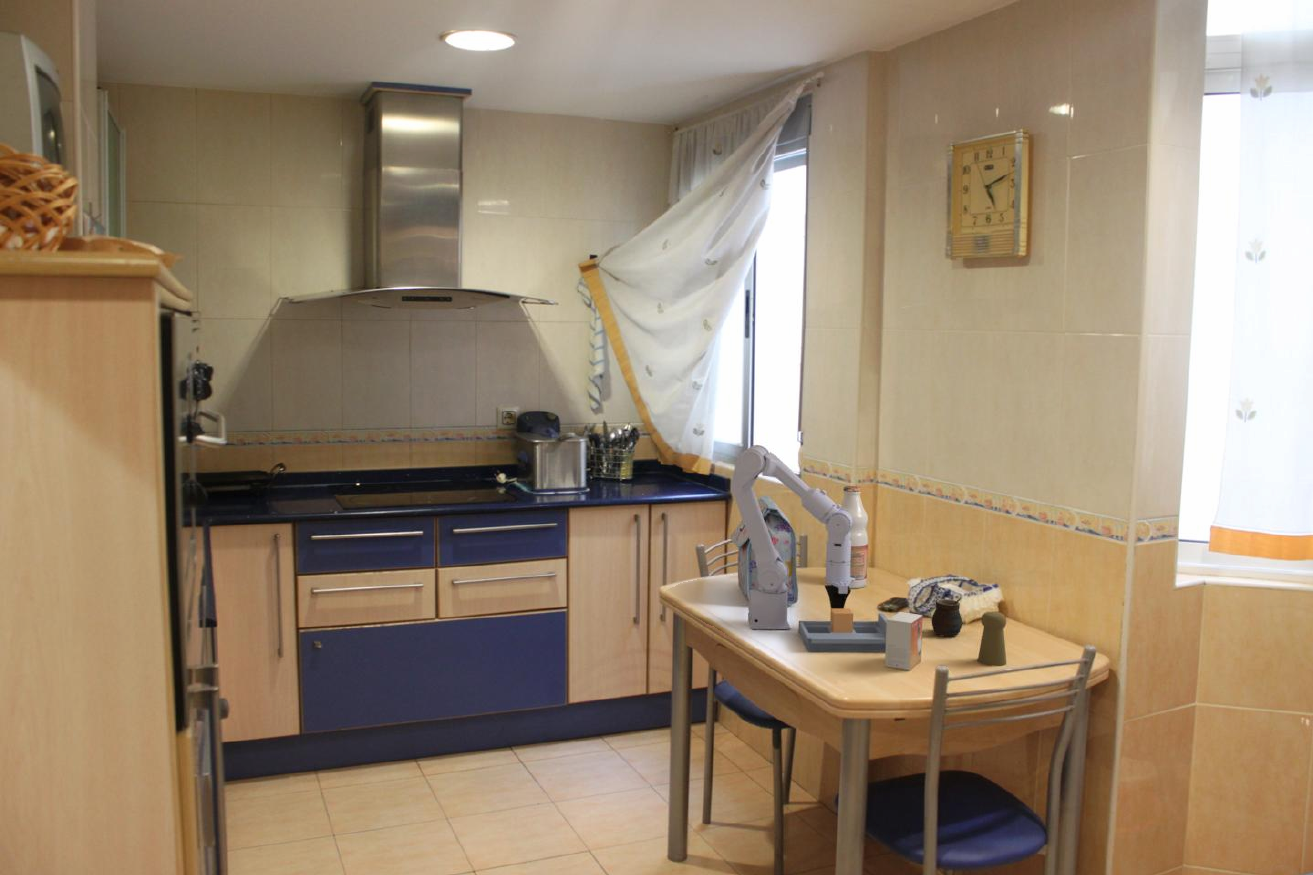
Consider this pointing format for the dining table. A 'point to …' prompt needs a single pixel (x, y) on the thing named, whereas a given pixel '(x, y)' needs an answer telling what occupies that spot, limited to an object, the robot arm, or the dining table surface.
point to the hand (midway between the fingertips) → (836, 615)
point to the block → (841, 620)
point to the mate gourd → (947, 618)
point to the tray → (844, 636)
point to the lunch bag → (782, 542)
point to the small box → (903, 640)
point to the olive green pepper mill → (992, 640)
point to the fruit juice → (857, 536)
